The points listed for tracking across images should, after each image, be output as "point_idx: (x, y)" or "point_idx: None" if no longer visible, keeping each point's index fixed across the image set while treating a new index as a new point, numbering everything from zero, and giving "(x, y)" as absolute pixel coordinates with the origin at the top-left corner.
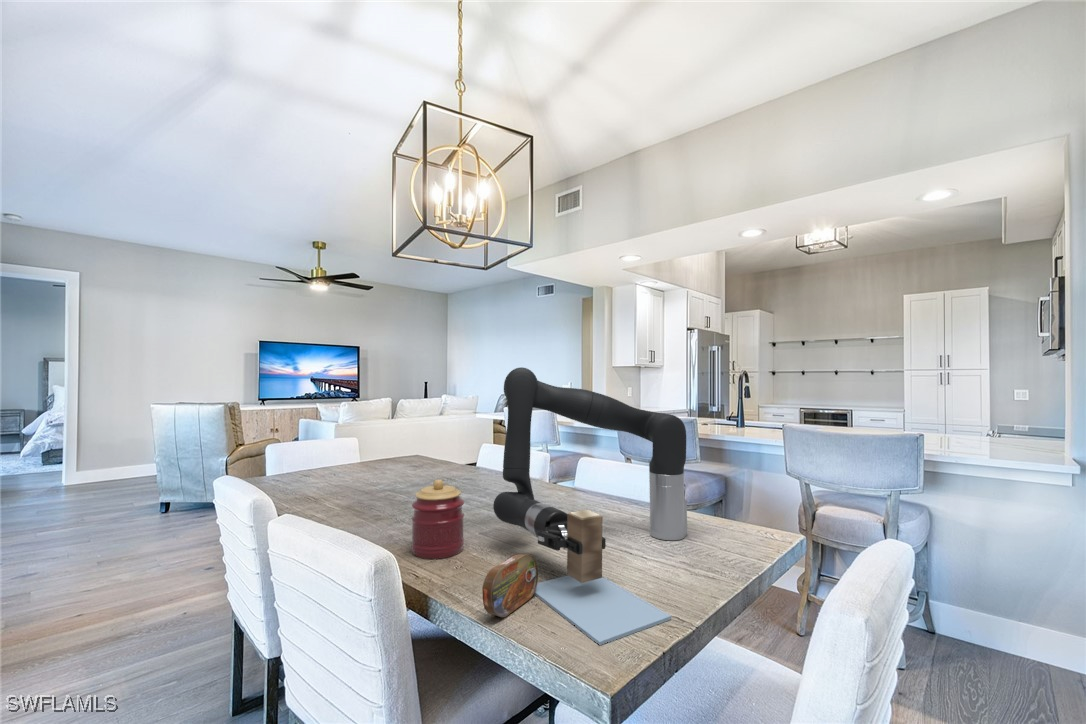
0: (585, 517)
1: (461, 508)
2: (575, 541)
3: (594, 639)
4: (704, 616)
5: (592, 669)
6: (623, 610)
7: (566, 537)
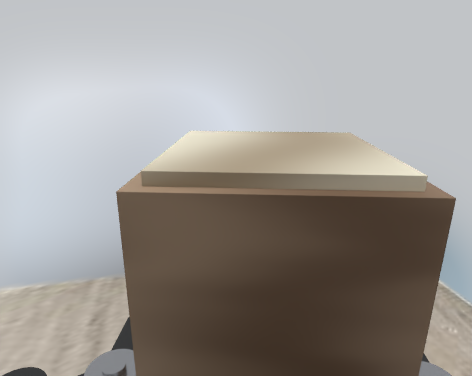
0: (318, 132)
1: None
2: None
3: None
4: (105, 278)
5: None
6: None
7: (433, 365)
